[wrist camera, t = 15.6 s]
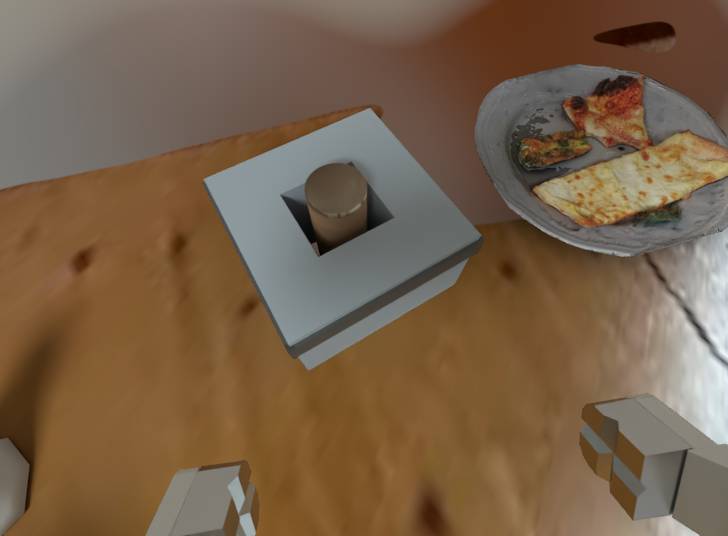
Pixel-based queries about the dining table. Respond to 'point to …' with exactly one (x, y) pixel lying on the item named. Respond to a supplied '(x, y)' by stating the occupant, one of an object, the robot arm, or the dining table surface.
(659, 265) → the dining table surface
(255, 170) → the collar block
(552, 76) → the food plate
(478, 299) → the dining table surface
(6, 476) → the flask
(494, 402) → the dining table surface
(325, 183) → the beige cylinder
